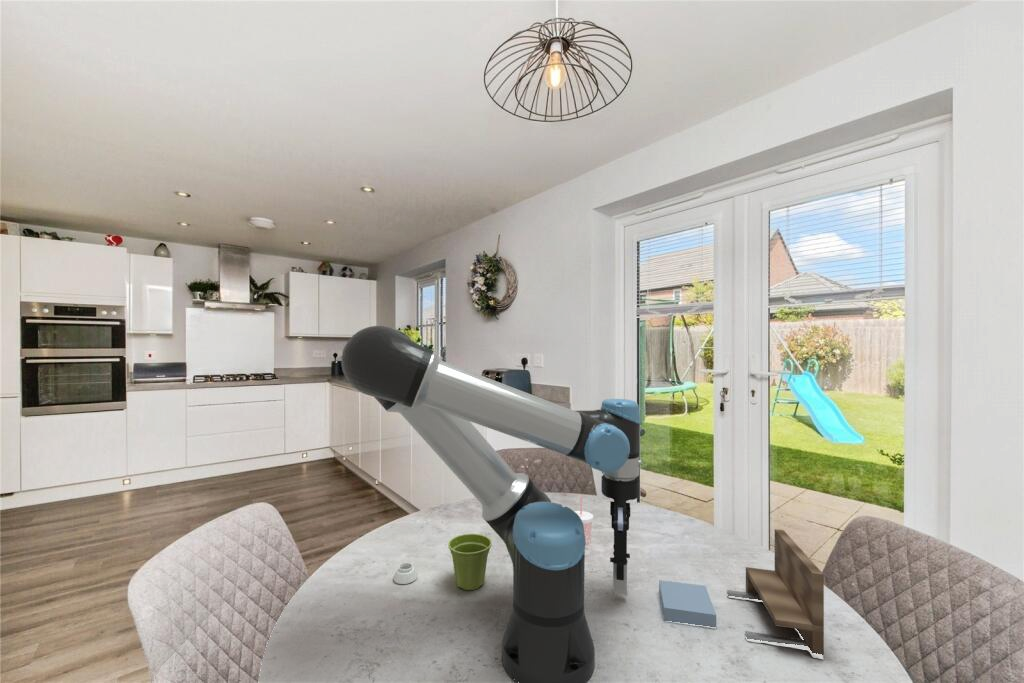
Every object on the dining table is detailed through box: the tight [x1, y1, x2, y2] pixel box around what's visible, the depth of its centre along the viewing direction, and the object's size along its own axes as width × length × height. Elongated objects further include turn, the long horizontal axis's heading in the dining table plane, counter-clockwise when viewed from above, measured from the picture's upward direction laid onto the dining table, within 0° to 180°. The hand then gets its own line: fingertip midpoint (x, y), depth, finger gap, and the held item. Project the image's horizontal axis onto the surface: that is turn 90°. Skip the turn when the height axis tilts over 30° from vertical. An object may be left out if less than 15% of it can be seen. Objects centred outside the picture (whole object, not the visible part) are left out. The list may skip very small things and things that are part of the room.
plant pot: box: [447, 533, 493, 591], centre depth 93 cm, size 9×9×9 cm
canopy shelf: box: [726, 528, 825, 656], centre depth 81 cm, size 18×11×14 cm, turn 166°
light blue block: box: [658, 579, 717, 628], centre depth 84 cm, size 10×9×3 cm
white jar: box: [393, 562, 418, 585], centre depth 94 cm, size 5×3×5 cm
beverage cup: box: [573, 494, 594, 556], centre depth 108 cm, size 6×6×14 cm
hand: (619, 592), depth 87 cm, fingers closed
